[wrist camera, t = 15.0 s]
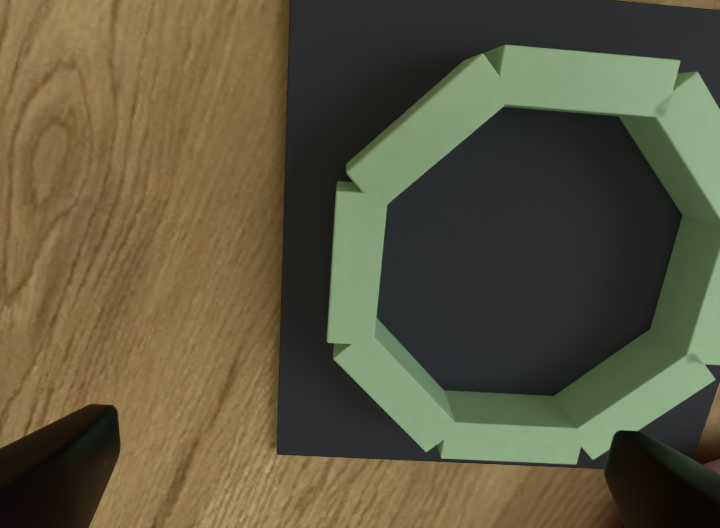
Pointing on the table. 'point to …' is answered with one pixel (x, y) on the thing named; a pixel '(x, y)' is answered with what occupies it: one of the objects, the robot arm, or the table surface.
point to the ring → (621, 370)
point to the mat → (476, 214)
